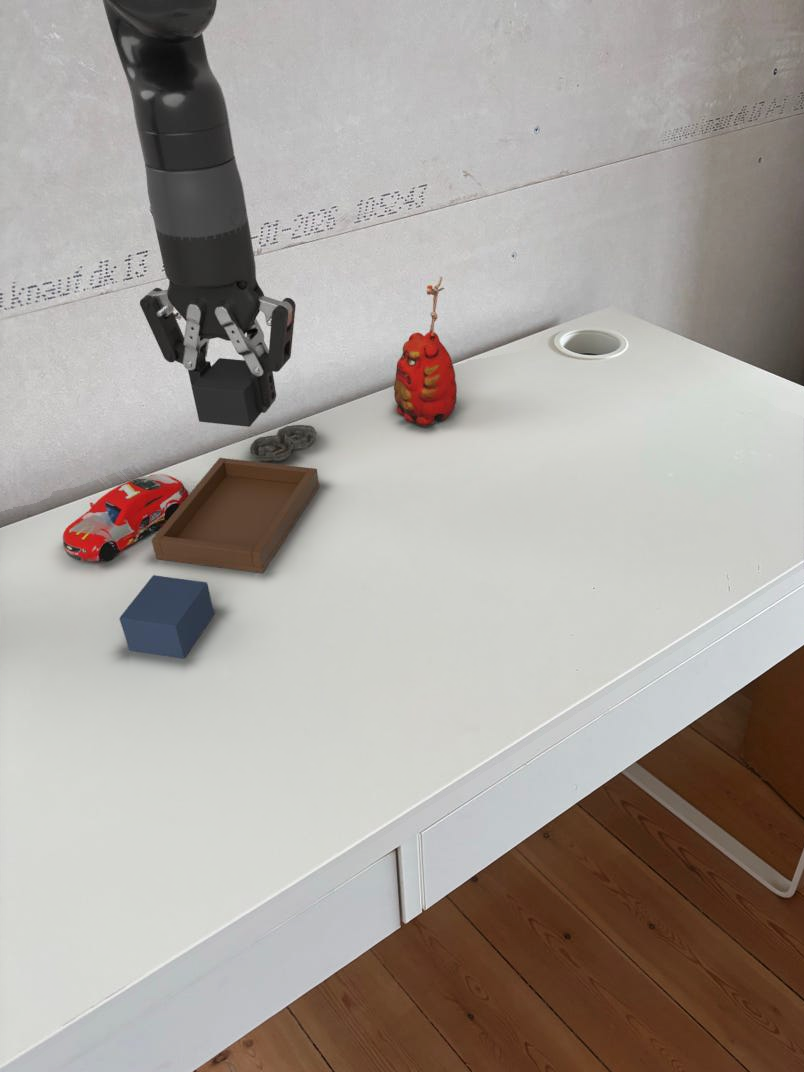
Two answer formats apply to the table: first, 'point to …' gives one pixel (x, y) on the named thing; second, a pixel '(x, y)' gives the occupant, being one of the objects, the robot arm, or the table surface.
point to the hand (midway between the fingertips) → (236, 405)
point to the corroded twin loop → (283, 443)
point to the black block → (226, 394)
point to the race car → (123, 517)
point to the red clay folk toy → (425, 376)
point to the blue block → (167, 616)
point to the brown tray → (237, 515)
